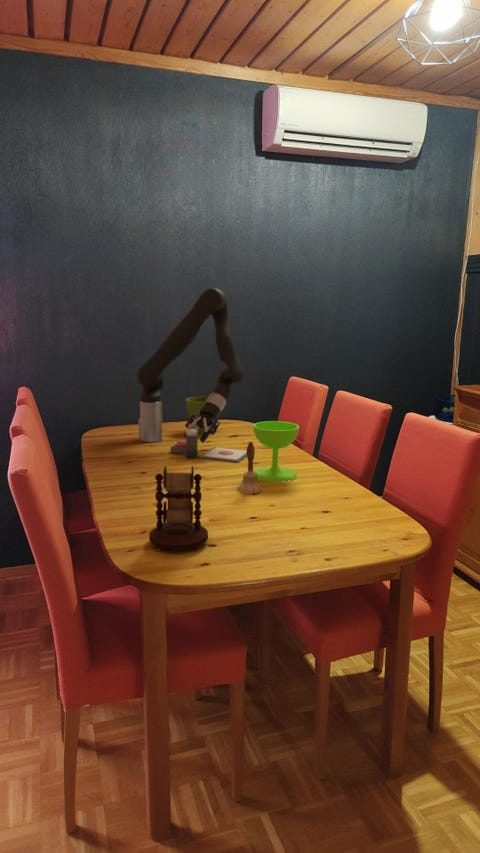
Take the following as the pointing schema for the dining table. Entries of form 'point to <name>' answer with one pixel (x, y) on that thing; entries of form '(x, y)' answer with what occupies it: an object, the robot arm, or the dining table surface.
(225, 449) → the board
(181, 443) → the button
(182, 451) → the button base
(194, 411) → the flower pot
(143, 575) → the dining table surface
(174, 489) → the scroll
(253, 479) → the hand bell
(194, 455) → the canister
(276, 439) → the wineglass
